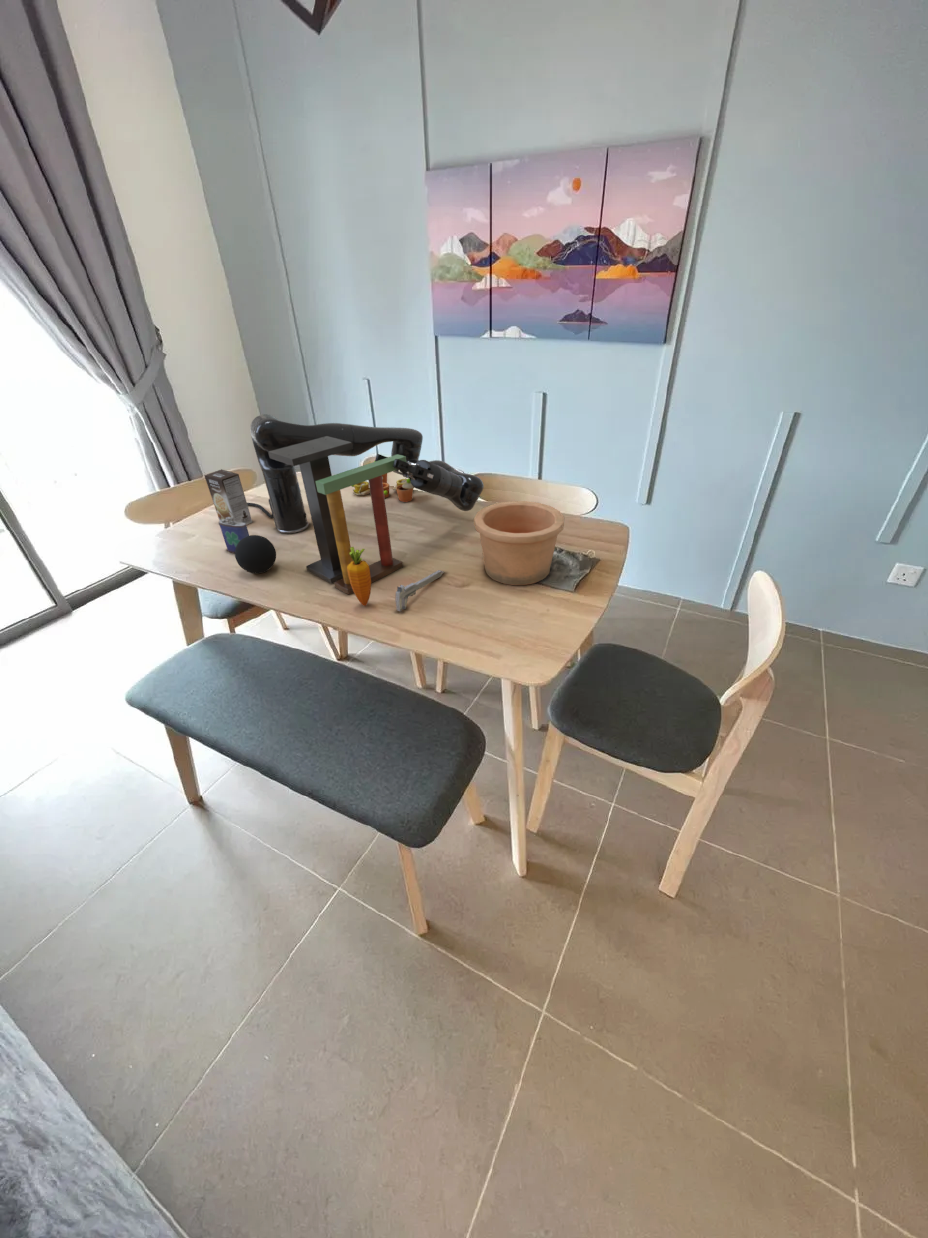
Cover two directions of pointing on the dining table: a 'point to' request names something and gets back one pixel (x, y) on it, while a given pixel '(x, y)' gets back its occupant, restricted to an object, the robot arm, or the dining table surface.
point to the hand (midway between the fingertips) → (385, 460)
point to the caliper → (413, 589)
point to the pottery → (518, 540)
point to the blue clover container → (233, 532)
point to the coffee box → (228, 496)
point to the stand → (317, 497)
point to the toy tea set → (402, 488)
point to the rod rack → (382, 531)
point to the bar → (357, 475)
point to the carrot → (359, 576)
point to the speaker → (255, 554)
